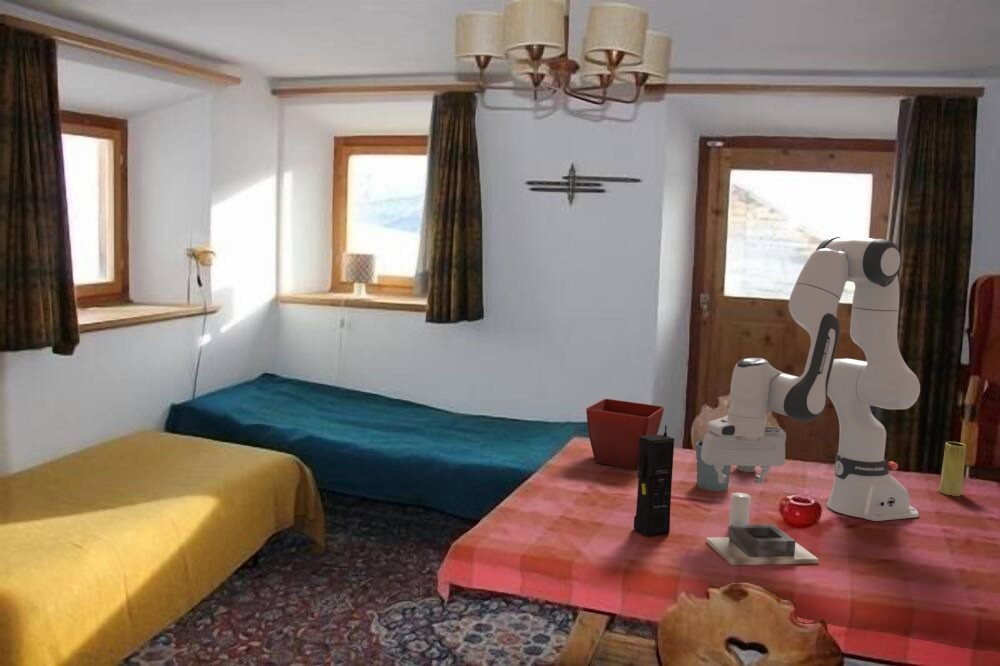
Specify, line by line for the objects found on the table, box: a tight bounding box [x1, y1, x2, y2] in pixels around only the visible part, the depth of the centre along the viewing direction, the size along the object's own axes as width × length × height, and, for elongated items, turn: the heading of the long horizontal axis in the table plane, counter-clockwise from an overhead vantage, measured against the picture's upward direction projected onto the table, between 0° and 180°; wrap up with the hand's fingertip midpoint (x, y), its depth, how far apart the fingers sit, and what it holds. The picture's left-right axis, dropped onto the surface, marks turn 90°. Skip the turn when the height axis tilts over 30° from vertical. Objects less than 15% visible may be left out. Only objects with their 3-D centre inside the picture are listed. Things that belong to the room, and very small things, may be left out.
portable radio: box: [633, 425, 675, 537], centre depth 212 cm, size 8×6×25 cm
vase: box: [938, 441, 967, 497], centre depth 256 cm, size 6×6×14 cm
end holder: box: [705, 524, 819, 566], centre depth 203 cm, size 20×14×4 cm
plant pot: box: [585, 398, 665, 470], centre depth 273 cm, size 19×19×17 cm
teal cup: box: [695, 440, 732, 492], centre depth 252 cm, size 10×10×12 cm
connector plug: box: [728, 492, 752, 529], centre depth 219 cm, size 4×4×8 cm
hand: (740, 483), depth 218 cm, fingers open, 8 cm apart
